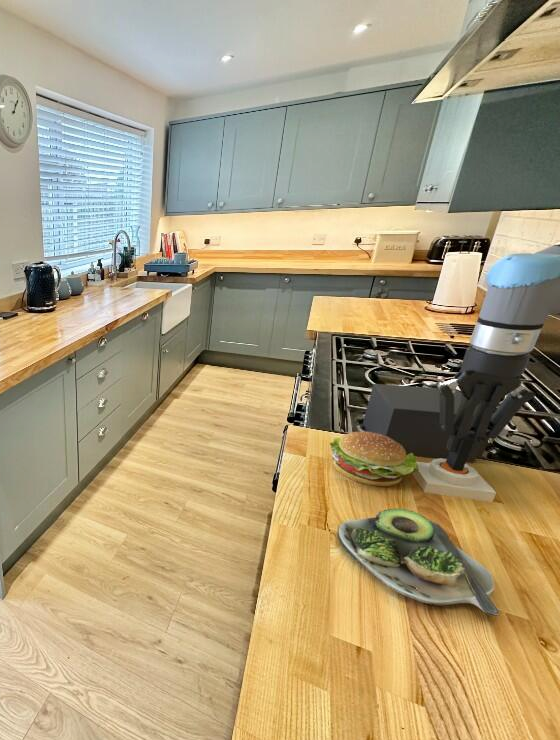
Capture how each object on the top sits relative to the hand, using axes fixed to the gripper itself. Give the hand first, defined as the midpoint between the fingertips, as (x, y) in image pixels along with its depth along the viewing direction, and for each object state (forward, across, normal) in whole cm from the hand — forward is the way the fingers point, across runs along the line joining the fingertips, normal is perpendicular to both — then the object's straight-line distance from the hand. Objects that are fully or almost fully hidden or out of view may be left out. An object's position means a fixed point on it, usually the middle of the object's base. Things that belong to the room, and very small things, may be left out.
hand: (454, 466), depth 80 cm
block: (+4, 0, 0) cm, 4 cm away
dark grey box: (+4, 0, +17) cm, 18 cm away
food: (+5, -13, +1) cm, 14 cm away
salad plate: (+5, -14, -24) cm, 28 cm away
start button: (+2, 0, 0) cm, 2 cm away
